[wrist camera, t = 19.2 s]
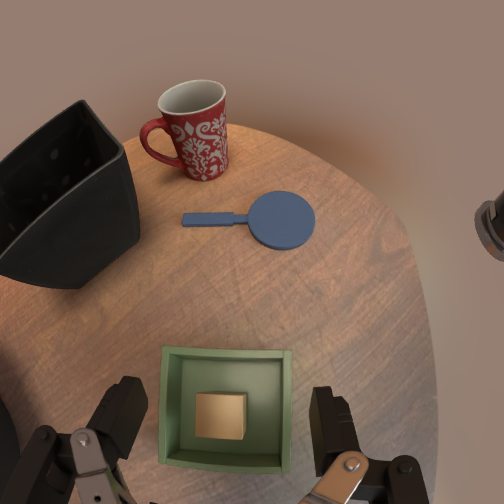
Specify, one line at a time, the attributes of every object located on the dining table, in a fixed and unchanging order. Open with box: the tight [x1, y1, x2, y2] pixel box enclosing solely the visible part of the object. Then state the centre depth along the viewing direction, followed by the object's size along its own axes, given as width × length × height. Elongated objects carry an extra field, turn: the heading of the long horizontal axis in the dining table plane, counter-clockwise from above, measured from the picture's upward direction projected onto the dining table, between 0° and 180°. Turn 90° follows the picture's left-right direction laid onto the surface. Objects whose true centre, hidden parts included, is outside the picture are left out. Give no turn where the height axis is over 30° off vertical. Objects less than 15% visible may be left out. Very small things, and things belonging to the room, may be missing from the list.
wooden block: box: [195, 391, 248, 440], centre depth 24 cm, size 4×4×8 cm
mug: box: [140, 80, 228, 181], centre depth 37 cm, size 13×9×14 cm
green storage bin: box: [158, 345, 292, 474], centre depth 25 cm, size 13×13×6 cm
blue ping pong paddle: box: [182, 191, 315, 250], centre depth 38 cm, size 18×9×1 cm, turn 89°
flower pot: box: [0, 100, 140, 289], centre depth 31 cm, size 19×19×17 cm
